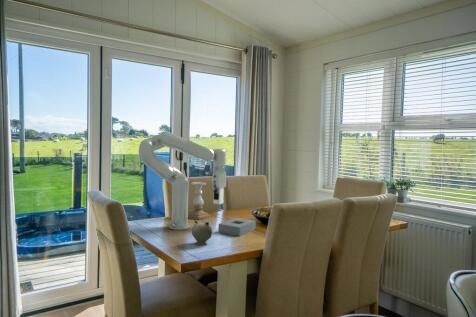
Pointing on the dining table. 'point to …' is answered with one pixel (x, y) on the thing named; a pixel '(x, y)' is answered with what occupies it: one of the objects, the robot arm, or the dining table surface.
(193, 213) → the candle holder
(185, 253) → the dining table surface
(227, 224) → the grey flat block
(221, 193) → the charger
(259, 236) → the dining table surface
